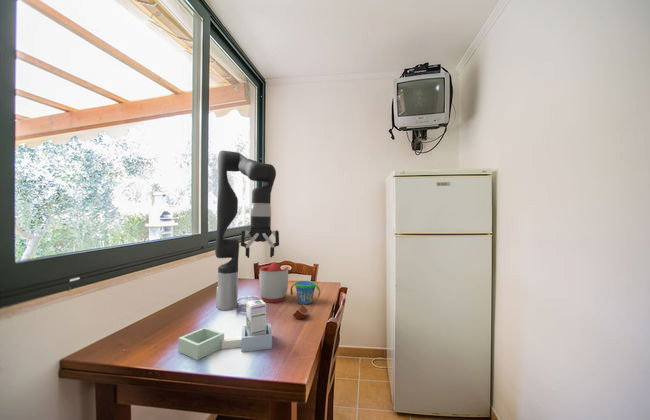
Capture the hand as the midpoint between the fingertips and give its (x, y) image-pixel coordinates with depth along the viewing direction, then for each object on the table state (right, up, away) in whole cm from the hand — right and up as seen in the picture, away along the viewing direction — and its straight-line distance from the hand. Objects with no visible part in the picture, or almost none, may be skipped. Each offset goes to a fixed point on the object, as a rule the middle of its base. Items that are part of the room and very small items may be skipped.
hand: (259, 257), depth 104 cm
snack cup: (+15, -30, +36) cm, 49 cm away
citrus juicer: (-2, -30, +41) cm, 51 cm away
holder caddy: (-9, -29, -11) cm, 32 cm away
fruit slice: (+14, -30, +16) cm, 37 cm away
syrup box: (+1, -29, -8) cm, 30 cm away
